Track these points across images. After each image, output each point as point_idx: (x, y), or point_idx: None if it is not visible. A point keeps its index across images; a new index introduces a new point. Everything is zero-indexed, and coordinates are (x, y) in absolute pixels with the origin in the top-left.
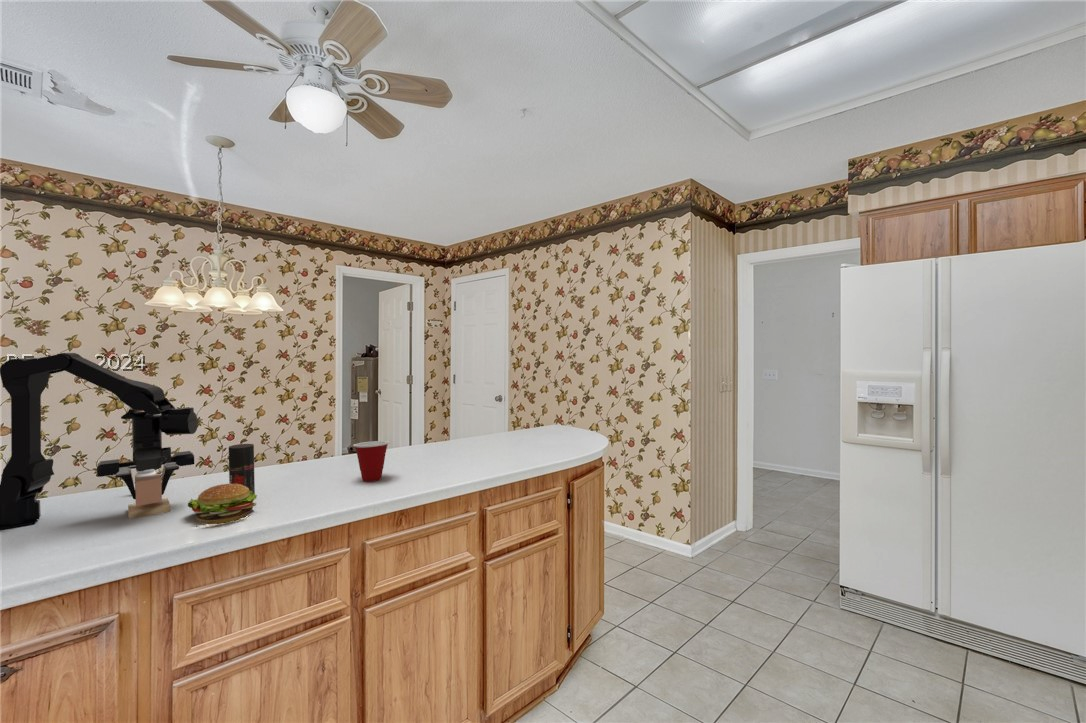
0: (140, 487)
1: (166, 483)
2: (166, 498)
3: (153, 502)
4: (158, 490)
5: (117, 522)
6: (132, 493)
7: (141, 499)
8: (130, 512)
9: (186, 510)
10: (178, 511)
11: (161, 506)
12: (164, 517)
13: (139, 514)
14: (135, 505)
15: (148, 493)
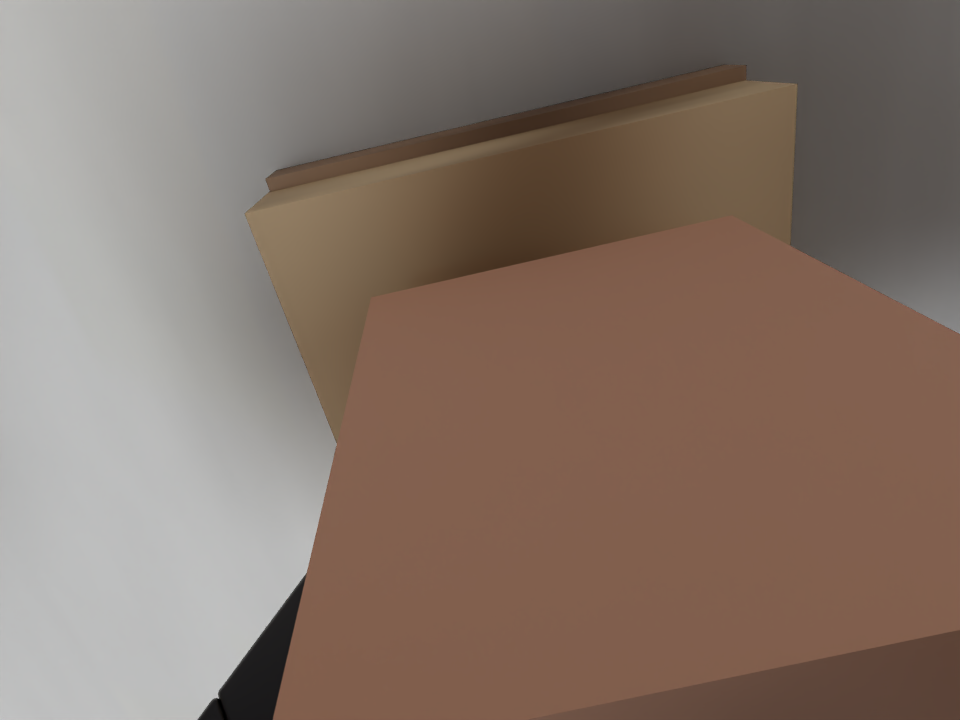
0: (900, 406)
1: (260, 655)
2: None
3: (490, 271)
4: (409, 400)
5: (834, 143)
6: None
7: (697, 268)
8: (771, 101)
9: (124, 275)
10: (218, 277)
11: (373, 229)
12: (318, 63)
13: (636, 110)
14: None
15: (610, 334)
